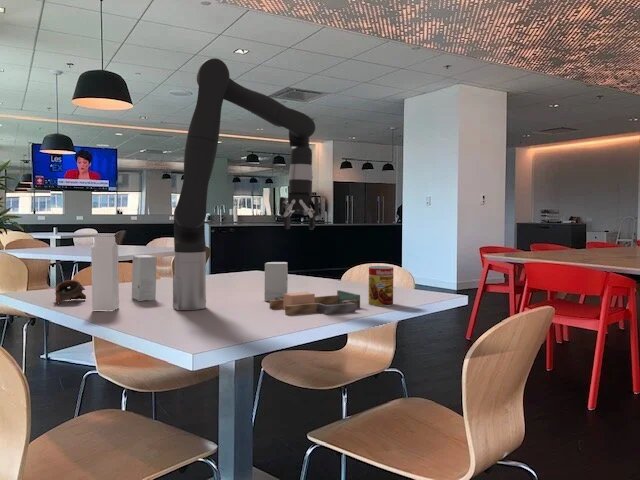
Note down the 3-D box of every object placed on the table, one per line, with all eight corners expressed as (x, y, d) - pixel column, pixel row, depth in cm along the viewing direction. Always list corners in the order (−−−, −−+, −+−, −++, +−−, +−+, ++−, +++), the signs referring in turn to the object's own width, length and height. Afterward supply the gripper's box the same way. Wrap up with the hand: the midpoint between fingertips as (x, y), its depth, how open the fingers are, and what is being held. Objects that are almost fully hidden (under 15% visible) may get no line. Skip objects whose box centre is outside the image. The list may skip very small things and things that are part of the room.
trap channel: (294, 317, 143) (294, 303, 143) (263, 306, 162) (263, 293, 162) (369, 310, 155) (369, 297, 155) (332, 300, 174) (332, 288, 174)
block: (291, 312, 152) (291, 295, 151) (283, 310, 156) (283, 293, 156) (314, 310, 156) (314, 293, 156) (306, 308, 160) (306, 291, 160)
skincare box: (131, 298, 177) (130, 255, 176) (148, 297, 181) (148, 254, 180) (139, 301, 170) (138, 256, 170) (157, 300, 174) (157, 255, 173)
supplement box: (286, 301, 171) (286, 263, 171) (263, 301, 172) (263, 263, 171) (288, 298, 179) (288, 261, 178) (266, 298, 179) (266, 261, 178)
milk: (98, 308, 157) (97, 236, 157) (119, 308, 158) (118, 235, 157) (91, 311, 151) (90, 236, 151) (113, 311, 152) (112, 236, 151)
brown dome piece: (94, 302, 172) (89, 282, 167) (70, 319, 165) (64, 298, 160) (69, 291, 177) (63, 271, 172) (45, 306, 170) (38, 286, 165)
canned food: (381, 307, 161) (382, 268, 161) (363, 303, 167) (363, 266, 167) (398, 304, 167) (398, 267, 166) (379, 301, 172) (380, 265, 172)
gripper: (275, 178, 167) (274, 228, 168) (315, 177, 161) (314, 229, 162) (286, 180, 174) (285, 228, 175) (325, 180, 168) (324, 229, 169)
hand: (299, 229), depth 168 cm, fingers open, 8 cm apart
